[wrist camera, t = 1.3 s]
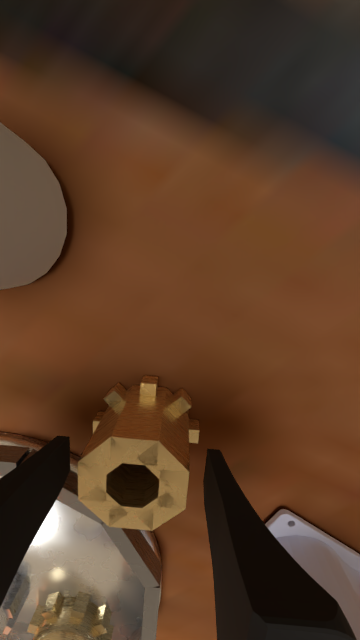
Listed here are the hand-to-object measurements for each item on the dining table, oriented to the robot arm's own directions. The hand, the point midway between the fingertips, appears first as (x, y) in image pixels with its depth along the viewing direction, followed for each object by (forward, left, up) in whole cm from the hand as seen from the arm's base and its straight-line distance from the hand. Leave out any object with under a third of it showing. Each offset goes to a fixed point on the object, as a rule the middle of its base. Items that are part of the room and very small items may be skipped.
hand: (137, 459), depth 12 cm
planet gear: (0, 0, -3) cm, 3 cm away
